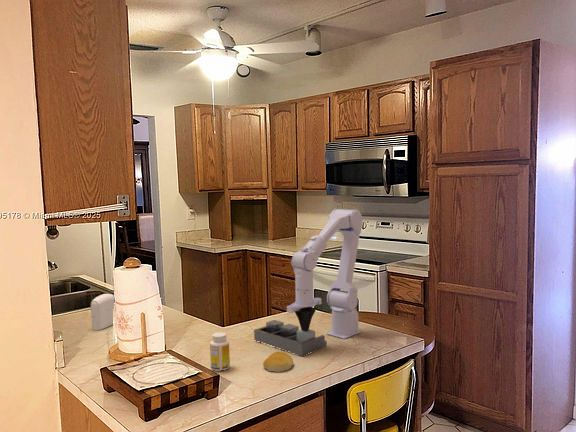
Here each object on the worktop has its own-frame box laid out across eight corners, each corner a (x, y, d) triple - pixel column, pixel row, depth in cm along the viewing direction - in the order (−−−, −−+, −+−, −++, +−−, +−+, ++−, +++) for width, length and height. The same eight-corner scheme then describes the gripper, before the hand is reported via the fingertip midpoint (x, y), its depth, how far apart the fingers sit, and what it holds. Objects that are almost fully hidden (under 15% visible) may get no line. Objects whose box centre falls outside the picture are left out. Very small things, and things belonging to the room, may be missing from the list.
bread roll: (259, 371, 145) (259, 358, 144) (271, 360, 153) (271, 347, 153) (286, 375, 142) (285, 361, 141) (297, 363, 150) (296, 350, 150)
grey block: (305, 342, 165) (304, 328, 164) (315, 346, 161) (315, 330, 161) (296, 346, 162) (296, 331, 161) (307, 349, 159) (306, 333, 158)
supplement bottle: (230, 364, 150) (229, 330, 149) (229, 371, 145) (228, 336, 144) (211, 365, 150) (210, 331, 149) (210, 372, 144) (209, 337, 143)
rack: (279, 332, 179) (279, 316, 178) (326, 346, 163) (326, 328, 163) (254, 341, 170) (253, 324, 170) (301, 356, 155) (301, 338, 154)
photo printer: (99, 331, 185) (97, 298, 184) (90, 330, 186) (88, 297, 185) (117, 323, 194) (116, 292, 193) (108, 322, 196) (107, 291, 195)
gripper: (298, 295, 152) (298, 338, 153) (328, 286, 163) (328, 327, 164) (281, 291, 157) (282, 333, 158) (312, 283, 167) (312, 323, 169)
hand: (305, 330), depth 161 cm, fingers closed
